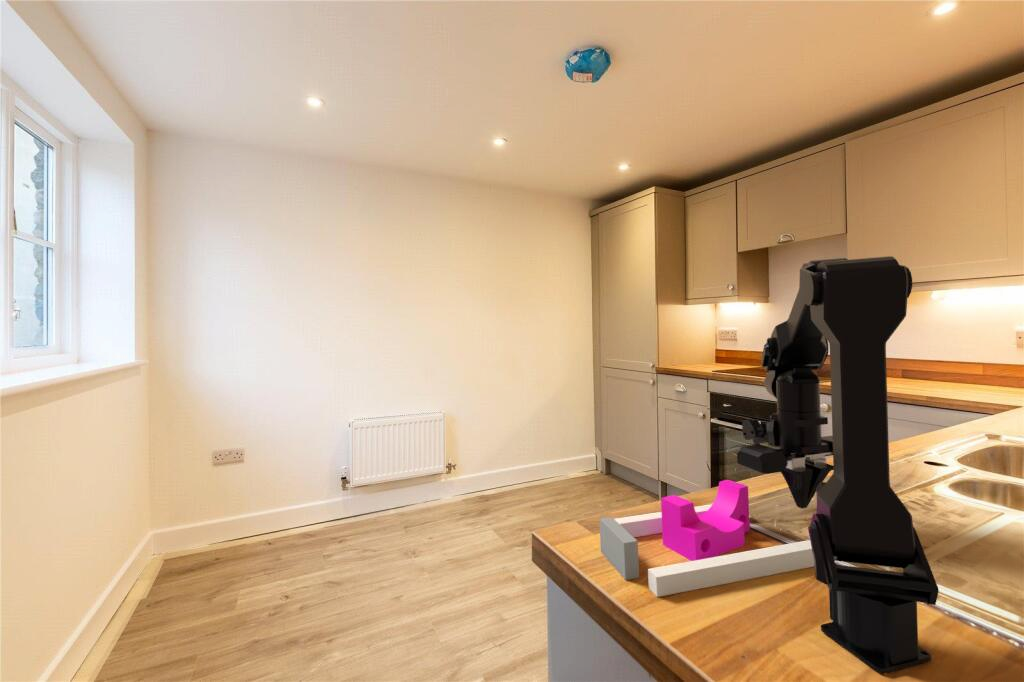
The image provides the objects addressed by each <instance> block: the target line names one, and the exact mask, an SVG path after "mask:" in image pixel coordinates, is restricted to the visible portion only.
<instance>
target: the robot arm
mask: <svg viewBox="0 0 1024 682" xmlns="http://www.w3.org/2000/svg"><path fill="white" fill-rule="evenodd" d="M798 282H799V283H798V284H799V287H798V288H799V289H798V291H797V294H796V297H795V300H794V301H793V304H792V307H791V311H790V314H789V315H788V318H787V320H784V321H783V322H781V323H779V324H777V325H776V326H774V329H773V330H772V332H771V335H770V337H767V339H766V343H764V345H763V350H762V353H761V360H760V363H761V367H762V368H763V371H766V372H767V371H768V372H767V374H766V376H765V378H764V381H763V382H764V387H765V389H766V390H765V391H767V393H768V394H770V395H771V396H772V397H774V398H775V399H776V406H777V407H776V413H774V412H773V413H771V414H770V416H769V422H765V423H760V422H759V421H758V419H756V418H755V419H748V420H743V421H742V428H741V432H742V435H743V438H744V439H745V440H746V441H751V440H752V443H753V444H751V445H742V446H740V447H739V448H738V450H737V451H736V452H737V453H736V455H737V456H736V461H737V465H738V464H739V465H740V466H744V467H746V468H748V469H751V470H753V471H756V472H758V473H761V474H767V475H769V474H776V473H781V475H782V476H783V478H784V480H785V482H786V484H787V486H788V489H789V492H790V494H791V496H792V499H793V500H794V502H795V505H796V507H797V508H800V509H802V510H803V509H807V507H809V505H810V503H811V501H812V499H813V497H814V496H815V495H816V513H813V514H812V515H811V521H810V523H809V524H810V525H809V526H808V528H807V530H808V535H809V540H810V541H811V547H812V552H813V557H814V565H815V566H814V578H815V579H816V581H817V582H820V583H822V584H824V585H826V586H827V588H828V597H829V619H830V620H831V621H832V622H831V621H830V622H827V623H822V624H821V625H820V630H821V632H822V633H824V634H825V636H828V637H829V638H831V639H832V640H834V642H836V643H837V644H839V645H840V646H841V647H843V648H844V649H846V650H847V651H848V652H850V653H851V654H853V656H855V657H856V658H858V659H859V660H861V661H862V662H863V663H865V664H866V665H868V666H869V667H870V668H872V669H873V670H874V671H876V672H878V673H882V674H886V673H890V672H895V671H898V670H901V669H906V668H909V667H913V666H916V665H920V664H924V663H927V662H931V661H932V654H931V653H930V652H929V651H927V650H926V649H924V648H922V647H921V646H919V633H918V630H919V629H918V603H923V604H927V605H931V606H936V604H937V601H938V596H939V591H940V590H939V587H938V584H937V582H936V579H935V576H934V574H933V572H932V568H931V566H930V563H929V561H928V558H927V555H926V553H925V551H924V549H923V546H922V543H921V540H920V537H919V535H918V533H917V531H916V528H915V526H914V523H913V516H912V514H911V512H910V511H909V509H908V508H907V507H906V506H905V504H904V503H903V502H902V500H901V499H900V498H899V496H898V495H897V494H896V493H895V491H894V490H893V488H892V487H891V479H890V477H891V476H890V453H889V452H890V449H889V447H890V446H889V441H890V440H889V415H888V413H889V412H888V383H887V381H888V380H887V379H888V377H887V374H888V373H887V349H886V348H887V342H888V340H890V338H891V337H892V335H893V334H895V333H894V332H895V331H896V330H897V329H898V327H899V326H900V324H901V323H902V322H903V321H904V319H905V318H906V317H907V312H908V311H907V309H908V298H910V296H911V293H912V289H913V276H912V272H911V270H910V268H909V267H907V266H906V265H903V264H899V261H898V260H897V259H896V258H895V257H894V256H890V255H889V256H877V257H876V256H875V257H865V258H855V259H854V258H853V259H852V258H851V259H848V258H847V257H839V258H837V257H836V258H829V259H827V258H826V259H818V260H817V259H816V260H809V262H805V263H803V264H802V266H801V267H800V269H799V281H798ZM828 355H829V361H830V363H829V368H830V393H831V394H830V395H831V396H830V398H831V399H830V400H831V401H830V402H831V403H830V404H831V427H832V428H831V430H832V431H831V432H832V435H826V436H822V425H828V424H829V419H828V417H826V416H822V415H821V392H820V391H821V389H820V388H821V387H820V386H821V384H820V378H819V376H818V375H817V374H815V373H814V371H821V369H822V367H823V366H824V364H825V362H826V360H827V359H828ZM763 443H764V444H765V443H767V444H768V445H769V446H765V445H763ZM770 446H771V447H770ZM772 447H778V448H772ZM829 456H832V459H833V460H832V462H833V465H832V464H829V463H827V458H826V457H829ZM831 471H833V473H832V474H831V476H830V477H829V479H828V480H826V481H824V480H825V479H826V478H827V476H828V475H829V473H830V472H831ZM836 562H842V563H844V562H845V563H849V564H851V563H853V564H858V565H859V564H861V565H868V566H878V567H887V568H897V569H902V571H903V572H902V571H896V570H895V571H892V570H886V569H885V570H884V569H876V568H868V567H867V568H866V567H859V566H851V565H843V564H842V565H840V564H836Z"/></svg>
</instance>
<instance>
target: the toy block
mask: <svg viewBox="0 0 1024 682" xmlns="http://www.w3.org/2000/svg"><path fill="white" fill-rule="evenodd" d="M711 504H712V506H711V507H710V508H709V509H708V510H707V511H706V512H705V513H704V514H702V515H700V516H697V514H696V512H695V509H694V507H695V505H694V502H693V501H690V500H688V499H685V498H683V497H680V496H678V495H677V494H671V495H667V496H664V497H661V498H660V505H661V507H660V508H661V509H660V510H661V511H660V512H662V546H664V547H666V548H667V549H669V550H671V551H672V552H674V553H676V554H678V555H680V556H682V557H683V558H685V559H687V560H688V561H695V560H701V559H706V558H712V557H717V556H721V555H722V554H725V553H727V552H729V551H732V550H734V549H738V548H741V547H743V546H745V545H746V544H745V543H746V541H745V540H746V539H745V533H748V532H750V505H749V485H747V484H743V483H740V482H736V481H733V480H730V479H724V480H721V481H719V482H718V489H717V494H716V496H715V499H714V501H713V503H711Z"/></svg>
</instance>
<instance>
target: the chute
mask: <svg viewBox="0 0 1024 682" xmlns="http://www.w3.org/2000/svg"><path fill="white" fill-rule="evenodd" d="M712 504H713V503H711V504H705V505H698V506H694V509H695V512H696V514H697V516H700V515H702V514H704V513H705V512H706V511H707V510H708V509H709V508H710V507H711V506H712ZM598 521H599V540H600V541H599V542H600V552H601V554H602V555H603V556H604V557H605V558H606V559H607V560H608V561H609V563H610V564H611V565H612V566H613V567H614V569H615V570H616V571H617V572H618V573H619V574H620V576H621V577H622V578H623V579H624V580H625V581H627V580H633V579H637V578H640V568H639V566H640V565H639V546H638V545H639V543H638V540H637V539H636V538H637V537H645V536H651V535H657V534H661V533H662V511H657V512H652V513H645V514H638V515H630V516H625V517H617V518H614V517H612V516H609V517H602V518H599V519H598ZM808 568H815V565H814V557H813V552H812V547H811V541H810V539H807V540H803V541H796V542H790V543H786V544H785V543H784V544H780V545H774V546H769V547H764V548H757V549H751V550H747V551H741V552H736V553H735V552H734V553H730V554H723V555H717V556H715V557H712V558H706V559H701V560H695V561H691V560H688V561H685V562H679V563H674V564H668V565H662V566H656V567H651V568H648V569H647V578H648V581H647V582H648V589H649V590H650V591H651V592H652V593H653V594H654V596H656V598H659V597H663V596H664V597H665V596H669V595H674V594H675V595H676V594H679V593H685V592H689V591H696V590H700V589H706V588H710V587H715V586H720V585H727V584H731V583H736V582H741V581H747V580H752V579H756V578H762V577H767V576H771V575H777V574H782V573H788V572H792V571H798V570H803V569H808Z"/></svg>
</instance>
